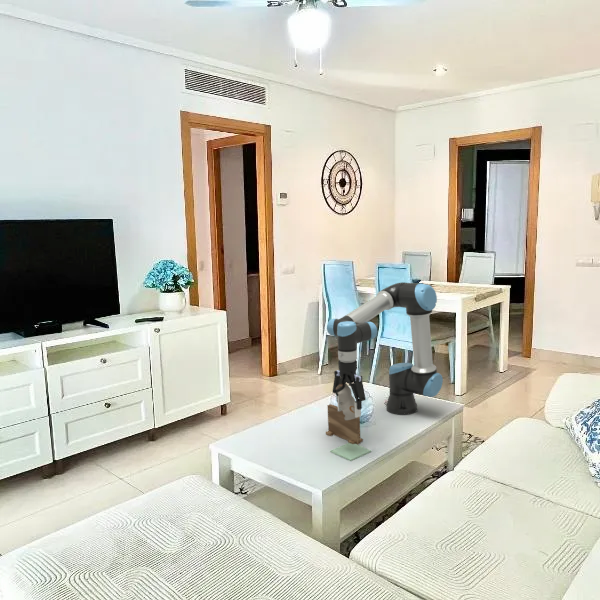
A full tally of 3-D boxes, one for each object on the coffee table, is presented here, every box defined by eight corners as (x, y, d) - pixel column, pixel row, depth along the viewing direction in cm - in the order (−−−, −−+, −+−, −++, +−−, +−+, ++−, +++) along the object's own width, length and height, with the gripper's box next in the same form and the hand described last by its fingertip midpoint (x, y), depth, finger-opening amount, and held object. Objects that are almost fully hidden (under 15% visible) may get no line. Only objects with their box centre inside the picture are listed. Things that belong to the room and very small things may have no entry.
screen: (334, 430, 246) (333, 403, 244) (363, 441, 232) (362, 413, 230) (325, 434, 242) (324, 406, 240) (353, 446, 229) (353, 416, 227)
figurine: (345, 413, 227) (343, 379, 225) (365, 418, 221) (364, 383, 219) (332, 420, 221) (331, 384, 219) (353, 425, 215) (352, 389, 212)
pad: (350, 443, 231) (350, 441, 231) (371, 451, 222) (371, 450, 222) (330, 451, 224) (330, 450, 224) (350, 461, 215) (350, 459, 215)
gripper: (322, 357, 223) (324, 409, 226) (360, 367, 206) (362, 423, 210) (335, 353, 228) (337, 404, 231) (374, 363, 211) (375, 417, 214)
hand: (349, 413), depth 220 cm, fingers closed on figurine, 9 cm apart
